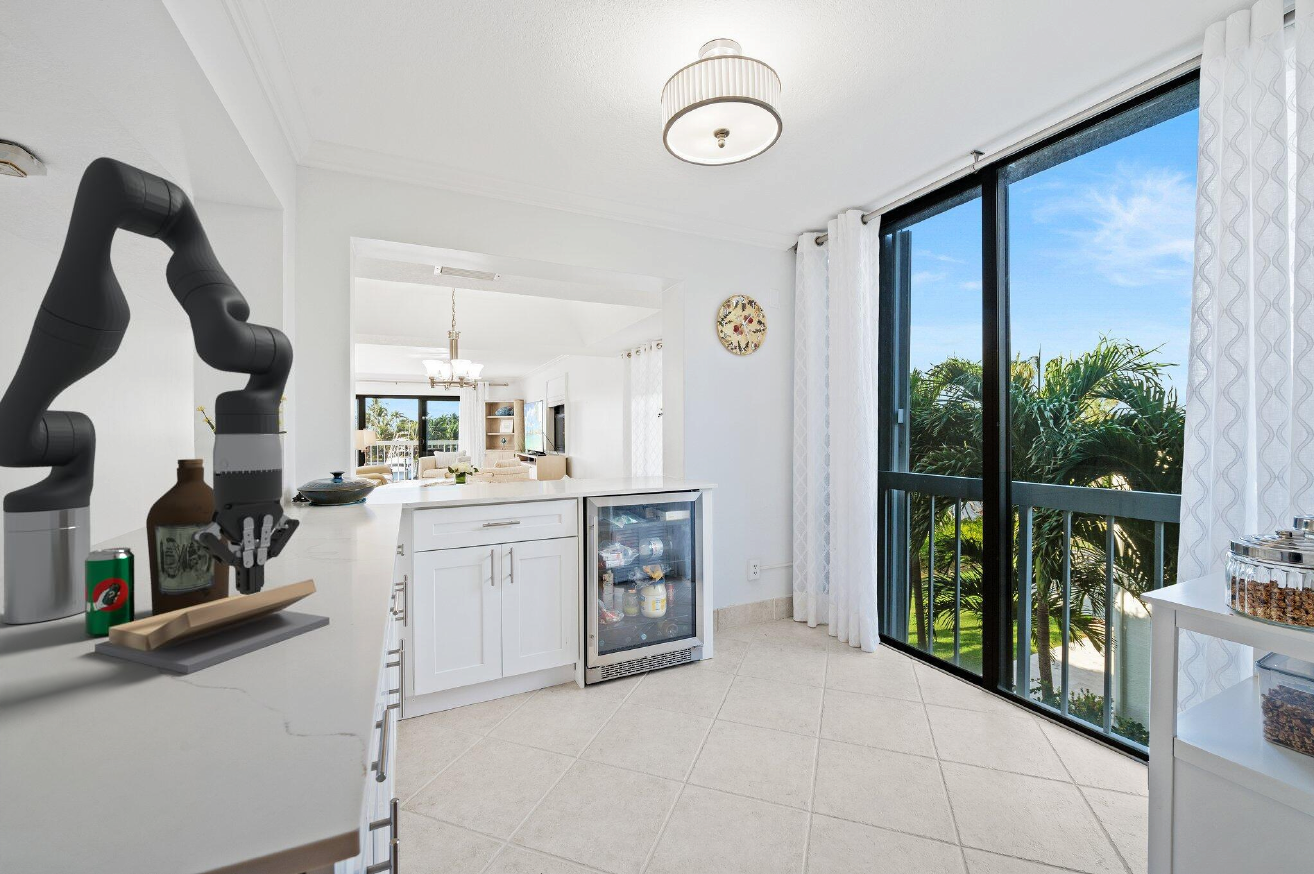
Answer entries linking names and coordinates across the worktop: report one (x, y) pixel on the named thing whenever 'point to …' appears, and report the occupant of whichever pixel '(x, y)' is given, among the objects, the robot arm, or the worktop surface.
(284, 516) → the robot arm
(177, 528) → the brown bottle
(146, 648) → the oak plank
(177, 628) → the brown wooden board
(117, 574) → the soda can
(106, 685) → the worktop surface
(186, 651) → the gray flat board
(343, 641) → the worktop surface
